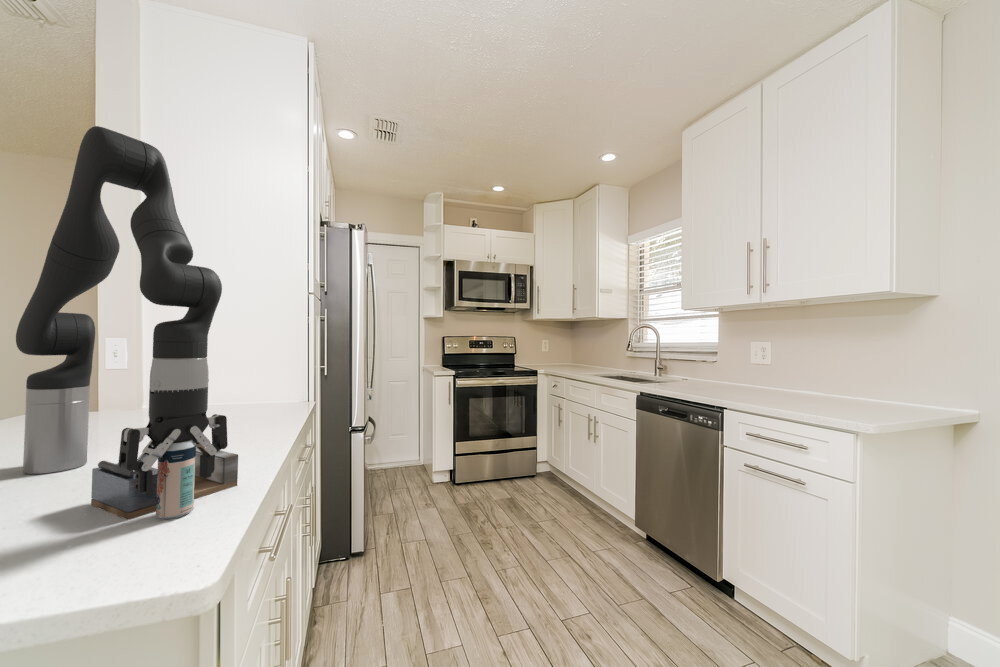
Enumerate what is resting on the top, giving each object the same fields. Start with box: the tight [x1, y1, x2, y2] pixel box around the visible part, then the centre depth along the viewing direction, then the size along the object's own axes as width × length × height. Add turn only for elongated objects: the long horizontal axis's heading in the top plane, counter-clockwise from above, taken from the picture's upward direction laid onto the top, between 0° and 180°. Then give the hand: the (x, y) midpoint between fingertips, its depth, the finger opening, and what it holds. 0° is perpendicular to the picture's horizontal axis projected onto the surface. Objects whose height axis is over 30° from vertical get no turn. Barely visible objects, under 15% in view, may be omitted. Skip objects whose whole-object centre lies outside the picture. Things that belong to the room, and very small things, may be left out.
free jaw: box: [90, 460, 158, 513], centre depth 68 cm, size 12×5×6 cm, turn 65°
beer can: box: [155, 440, 196, 520], centre depth 66 cm, size 5×5×12 cm
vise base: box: [90, 447, 239, 521], centre depth 73 cm, size 12×17×6 cm
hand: (176, 485), depth 66 cm, fingers open, 8 cm apart
